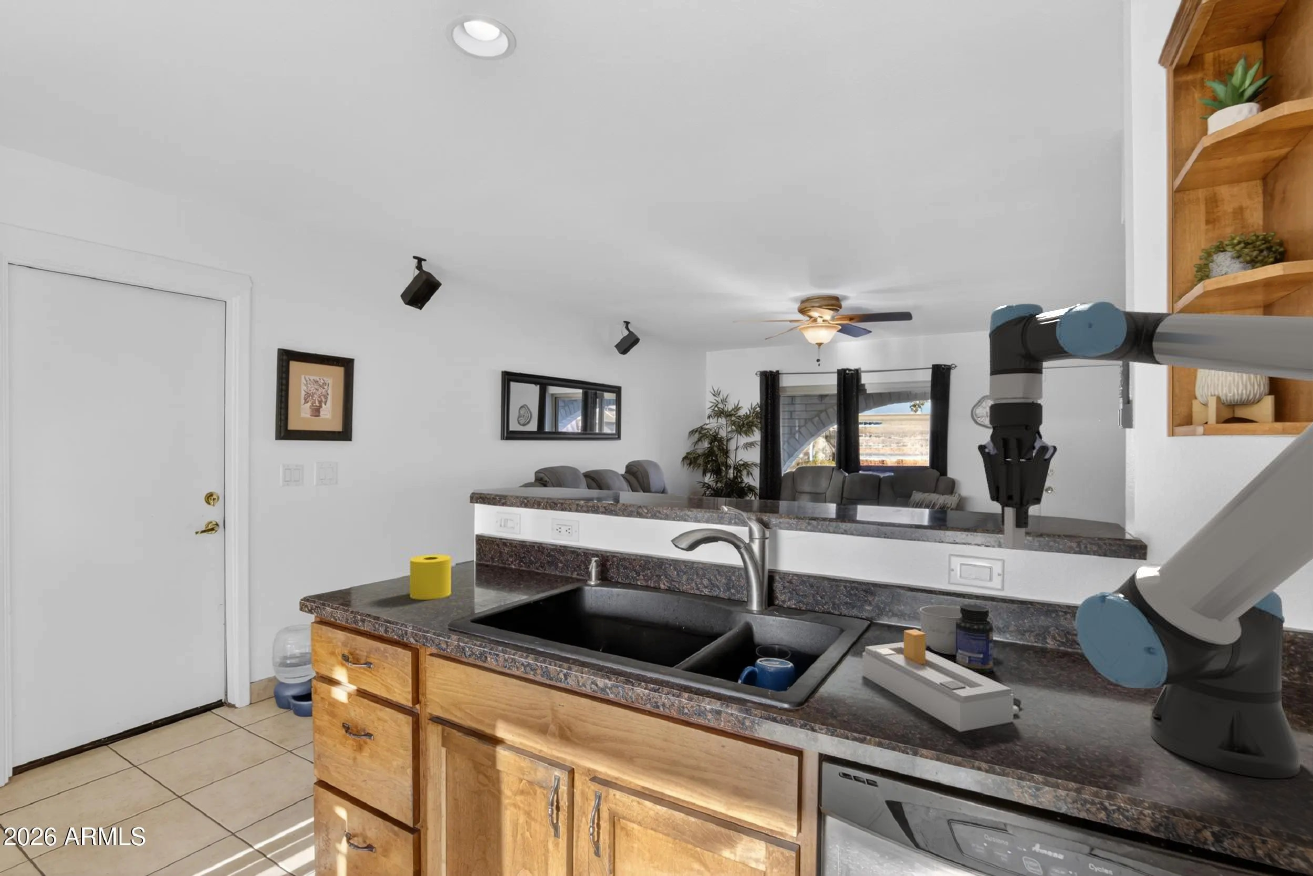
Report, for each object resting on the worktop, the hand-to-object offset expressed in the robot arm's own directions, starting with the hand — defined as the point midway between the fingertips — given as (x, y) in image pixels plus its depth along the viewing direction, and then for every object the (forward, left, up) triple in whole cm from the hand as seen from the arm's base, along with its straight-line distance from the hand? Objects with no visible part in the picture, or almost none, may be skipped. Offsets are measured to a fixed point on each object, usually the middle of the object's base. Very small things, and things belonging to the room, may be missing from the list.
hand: (1014, 547), depth 102 cm
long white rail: (+4, +6, -24) cm, 26 cm away
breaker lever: (+8, +13, -20) cm, 25 cm away
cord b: (+5, +3, -24) cm, 25 cm away
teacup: (+20, -8, -25) cm, 33 cm away
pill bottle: (+12, -4, -25) cm, 28 cm away
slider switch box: (+4, +13, -24) cm, 28 cm away
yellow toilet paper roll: (+96, +91, -25) cm, 134 cm away
